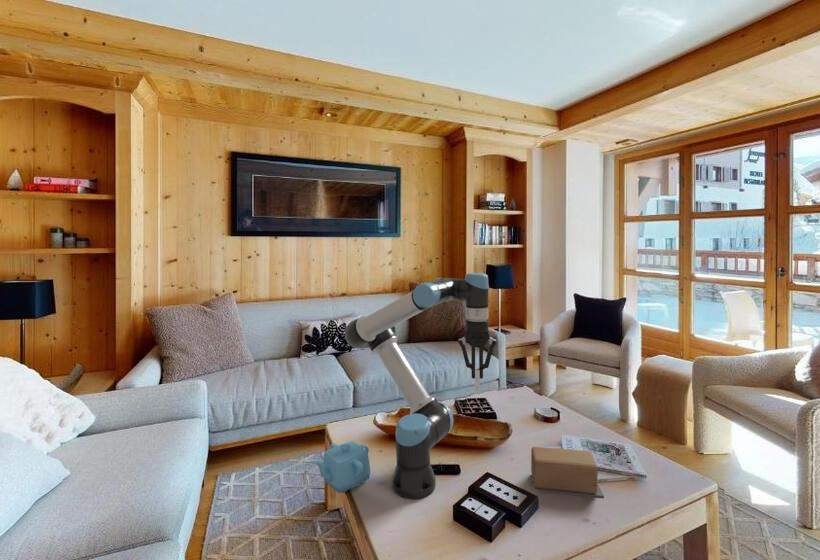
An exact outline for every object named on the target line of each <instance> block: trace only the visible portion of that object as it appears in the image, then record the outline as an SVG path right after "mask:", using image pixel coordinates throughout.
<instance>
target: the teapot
mask: <svg viewBox="0 0 820 560" xmlns="http://www.w3.org/2000/svg"><path fill="white" fill-rule="evenodd" d="M329 447H330V448H329V449H328V450H326V451H324V452H323V459H322V460H314V461H312V462H311V464H313V465H316V466H318V468H319V469H318V470H319V472H320V476H321V477H322V478H323V480H324V482H325V483H326V484H328V486H329V487H330V488H332V489H333V491H335V492H337V493H338V494H340V493H346V492H347V491H348V490H351V489H353V488H355V487H356V486H359V484H360V485H362V484H363V483H364V482H366V481H367V480H369V479H370V476H371V465H370V459H369V452H370V449H369V446H368V445H367V444H358V443H357V442H356V441H354V440H349V441H346V442H344V443H340V444H337V443H331V444H330V446H329ZM362 482H363V483H362ZM361 483H362V484H361Z"/></svg>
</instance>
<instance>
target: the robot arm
mask: <svg viewBox="0 0 820 560" xmlns="http://www.w3.org/2000/svg"><path fill="white" fill-rule="evenodd" d="M489 289H490V286H489V276H488V274H486V273H483V272H469V273H466V274H465V278H453V277H452V278H451V277H437V278H436V279H434V280H433V281H427V282H426V281H425V282H423V283H421V284H418V285H417V286H416V287H415V288H414V289H413V290H411V291H410V292H409V293H406V294H404V295H403V296H401V297H399V298H398V299H395V300H394V301H392V302H390V303H388V304H387V305H385V306H383V307H382V308H379V309H378V310H376V311H374V312H373V313H371V314H369V315H367V316H365V315H363V316H360V317H358V318H356V319H353V320H352V321H350V322H349V323H348V324H347V325H346V327H345V331H344V337H345V341H346V342H347V344H348V345H349V346H351V348H353V349H357V350H358V349H359V350H363V349H367V348H369V350H370V351H371V353H372V354H375V355H378V357H379V358H380V361H382V363H383V365H384V367H385V369H386V370H387V372H388V373H389V375H390V377H391V378H392V380H393V381H394V384H395V385H396V387H397V389H398V390H399V391H400V393H401V395H402V396H403V399H404V400H405V401H406V403H407V405H408V407H409V409H410V411H409V414H407V415H406V414H405V415H403V416H402V417H400V419H399V420H398V421H397V422H396V426H395V434H394V435H395V436H394V437H395V449H396V450H395V451H396V452H395V453H396V456H395V457H396V465H395V468H394V472H393V475H392V479H391V488H392V490H393V491H394V493H395V494H396V495H397V496H399V497H402V498H404V499H409V500H417V499H422V498H426V497H428V496H429V495H431V494H432V493H433V492H434V491H435V489H436V486H437V485H436V484H437V481H436V475H435V473H434V470H433V468H432V465H431V449H432V448H433V447H434V446H435V445H436V444H438V443H439V442H440V441H442V439H444V438H445V437H446V436H448V434H449V433H450V432H451V430H452V428H454V427H453V426H454V415H453V412H452V410H451V409H450V408H449V406H448V405H447V404H446V403H445V404H444V403H443V402H439V401H438V399H437V398H436V397H435V396H432V395H430V394H429V393H428V391H427V389H426V388H425V386H424V384H423V383H422V381H421V380H420V378H419V376H418V375H417V373H416V372H415V371H414V370H415V369H413V367H412V365H411V364H410V362H409V361H408V358H407V357H406V356H405V354H404V352H403V351H402V350H401V347H400V345H398V343H397V342H398V335H397V334H396V333H397V325H399V324H401V323H402V322H405V321H407V320H409V319H410V318H412V317H414V316H416V315H418V314H420V313H422V312H424V311H426V310H428V309H430V308H432V307H434V306H437V305H440V304H443V303H445V302H450V301H463V302H465V319H466V320H465V333H464V336H463V337H461V338H458V341H457V342H458V344H459V346H460V347H461V351H462V355H463V358H464V359H463V360H464V363H465V366H466V368H468V369H470V370H471V379H472V380H473V379H474V389H475V390H480V388H481V387H480V386H481V385H480V384H481V382H480V381H481V380H482V379H484V370H485V369H489V366H490V363H491V358H492V354H493V351H494V348H495V346H496V345H497V339H496V338H493V337H491V334H490V333H489V330H490V329H489V320H488V319H489ZM466 342H467V343H468V345H469V346H470V347H471V354H470V356H471V357H470V358H471V361H470V359H469V356H468V351H467V348H466ZM487 343H488V349H487V353H486V357H485V361H484V346H485V345H486V344H487ZM477 347H478V362H479V363H478V367H476V348H477ZM480 379H481V380H480Z"/></svg>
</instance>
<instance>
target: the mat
mask: <svg viewBox="0 0 820 560" xmlns="http://www.w3.org/2000/svg"><path fill="white" fill-rule="evenodd" d="M538 490H539V493H540V494H551V495H552V494H554V495H568V496H569V495H570V496H580V497H595V498H605V495H604V493H603V492H602V490H601V488H600V486H599V484H598V483H597V492H596V493H595V494H592V493H582V492H573V491H563V490H554V489H544V488H538Z"/></svg>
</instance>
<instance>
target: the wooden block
mask: <svg viewBox="0 0 820 560" xmlns="http://www.w3.org/2000/svg"><path fill="white" fill-rule="evenodd" d="M530 454H531V460H530V461H531V462H530V470H531V478H532V483H533V486H534V487H535V488H537V489H539V488H544V489H554V490H563V491H573V492H582V493H592V494H595V493H596V492H597V484H598V476H599V475H598V473H599V472H598V471H599V470H598V469H599V468H598V464H597V463H596V461H595V458H594V456H593V455H592V453H591V451H589V450H580V449H578V450H577V449H565V448H556V447H555V448H554V447H546V446H545V447H544V446H543V447H541V446H532V447H531V453H530Z"/></svg>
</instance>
